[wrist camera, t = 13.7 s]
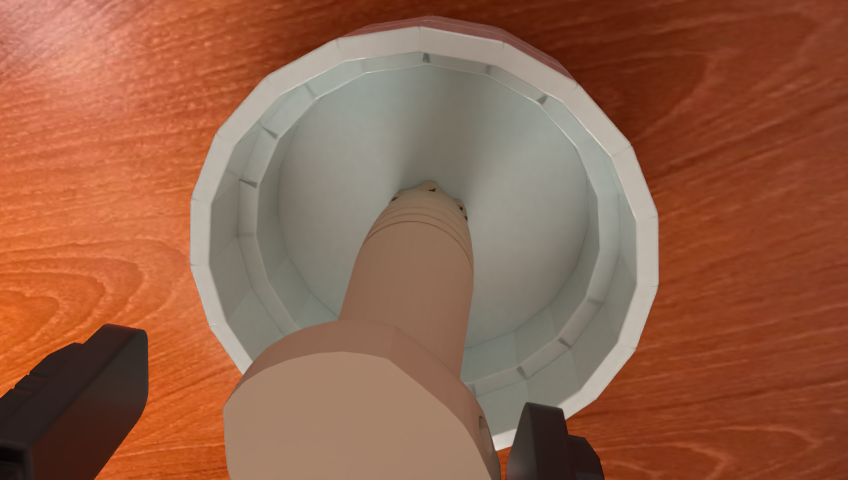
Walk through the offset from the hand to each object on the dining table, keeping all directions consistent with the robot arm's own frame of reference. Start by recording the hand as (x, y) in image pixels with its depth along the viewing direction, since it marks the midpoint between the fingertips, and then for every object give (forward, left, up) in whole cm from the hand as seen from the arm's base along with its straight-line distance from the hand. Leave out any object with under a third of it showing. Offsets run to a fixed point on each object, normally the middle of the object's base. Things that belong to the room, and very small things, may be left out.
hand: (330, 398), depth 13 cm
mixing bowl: (+1, +1, -14) cm, 14 cm away
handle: (+1, +1, -14) cm, 13 cm away
